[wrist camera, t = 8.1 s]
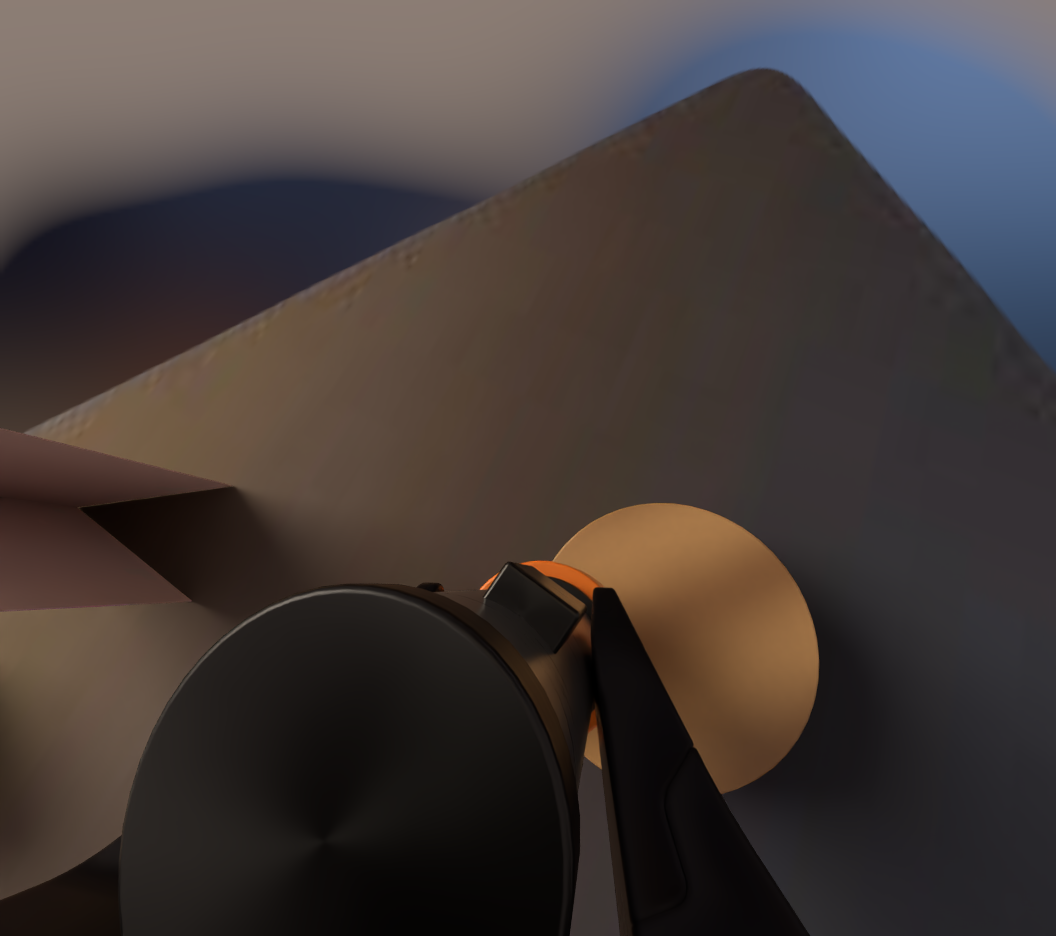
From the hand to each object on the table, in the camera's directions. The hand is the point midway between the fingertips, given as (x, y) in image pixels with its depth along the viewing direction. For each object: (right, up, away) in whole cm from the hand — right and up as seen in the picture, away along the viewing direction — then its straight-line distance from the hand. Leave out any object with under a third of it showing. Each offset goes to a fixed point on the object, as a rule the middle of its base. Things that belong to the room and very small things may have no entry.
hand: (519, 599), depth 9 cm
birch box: (+6, -5, +12) cm, 14 cm away
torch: (+1, -3, +6) cm, 7 cm away
